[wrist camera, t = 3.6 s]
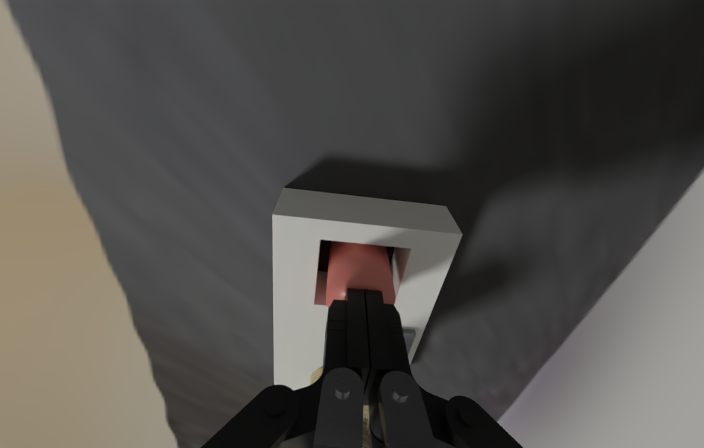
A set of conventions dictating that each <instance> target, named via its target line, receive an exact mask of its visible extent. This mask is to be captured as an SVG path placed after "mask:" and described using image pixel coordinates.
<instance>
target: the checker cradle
mask: <svg viewBox="0 0 704 448" xmlns="http://www.w3.org/2000/svg"><path fill="white" fill-rule="evenodd" d="M272 217H273V317H274V385H285V386H288V387H290V388H291V389H292V390H297V389H300V388H304V387H307V386H309V385H310V378H311V375H312V373H313V372H314V371H315V370H316V369H317V368H319V367H321V366H323V356H324V342H325V330H326V322H327V315H328V306H327V304H326V290H327V277H328V272H324V271H318V266H319V256H320V246H321V240H330V241H340V242H350V243H360V244H370V245H380V246H390V247H395V249H394V253H393V256H392V260H391V264H390V269H391V274H392V279H393V285H394V290H395V296H396V299H395V303H394V306H395V308H396V309H397V311H398V312H399V314H400V318H401V323H402V328H403V334H404V335H403V336H404V339H405V344H406V349H407V354H408V359H409V365H410V364H411V362H412V359H413V357H414V354H415V352H416V349H417V347H418V344H419V342H420V339H421V337H422V334H423V332H424V329H425V327H426V324H427V322H428V319H429V317H430V314H431V312H432V309H433V307H434V305H435V302H436V300H437V297H438V295H439V292H440V290H441V287H442V285H443V282H444V280H445V277H446V275H447V272H448V270H449V267H450V265H451V262H452V260H453V257H454V255H455V252H456V250H457V247H458V245H459V242H460V240H461V237H462V235H463V234H462V232H461V231H460V229H459V227H458V226H457V224H456V222H455V220H454V219H453V217H452V215H451V214H450V212H449V210H448V208H447V207H446V206H441V205H432V204H424V203H415V202H406V201H397V200H388V199H379V198H370V197H362V196H353V195H344V194H335V193H326V192H317V191H309V190H300V189H291V188H283V190H282V193H281V195H280V197H279V200H278V202H277V205H276V207H275V210H274V212H273V214H272Z"/></svg>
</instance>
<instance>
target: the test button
mask: <svg viewBox="0 0 704 448" xmlns="http://www.w3.org/2000/svg"><path fill="white" fill-rule="evenodd" d="M347 288H355V289H364V290H365V289H368V290H380V291H382V294H383V300H384V303H385V304H393V305H394V303H395V299H396V296H395V290H394V285H393V279H392V274H391V269H390V263H389V258H388V253H387V248H386V246H380V245H370V244H360V243H350V242H340V241H331V244H330V252H329V264H328V277H327V290H326V304H327V306H328V308H329V307H330V305H331V303H332V302H333V300H334V299H336V300H345V294H346V289H347Z"/></svg>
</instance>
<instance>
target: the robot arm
mask: <svg viewBox="0 0 704 448" xmlns="http://www.w3.org/2000/svg"><path fill="white" fill-rule="evenodd" d="M403 335H404V334H403V328H402V323H401V318H400V314H399V312H398V311H397V309H396V308H395V306H394V305H393V304H385V303H384V300H383V294H382V291H380V290H368V289H365V290H364V289H355V288H347V289H346V294H345V300H336V299H334V300H333V302H332V303H331V305H330V307H329V308H328V315H327V322H326V330H325V342H324V356H323V371H322V375H321V376H320V378H319V379H318V380H317V381H316V382H314V383H313V384H311V385H309V386H307V387H304V388H300V389H297V390H292V389H291V388H290V387H288V386H285V385H272V386H269V387H267V388H265V389H264V390H263V391H261V392H260V393H259V394H258V395H257V396H256V397H255V398H254V399H253V400H252V401H251V402H250V403H248V404H247V405H246V406H245V407H244V408H243V409H242V410H241V411H240V412H239V413H238V414H237V415H236V416H234V417H233V418H232V419H231V420H230V421H229V422H228V423H227V424H226V425H225V426H224V427H223V428H222V429H220V430H219V431H218V432H217V433H216V434H215V435H214V436H213V437H212V438H211V439H210V440H209V441H208V442H207V443H205V444H204V445H203V446H202V447H201V448H362V443H363V405H367V406H369V420H368V423H367V434H368V442H369V448H523V447H522V446H521V445H520V444H518V442H517V441H516V440H515V439H514V438H513V437H511V436H510V435H509V434H508V433H507V432H506V431H505V430H504V429H503V428H502V427H501V426H500V425H499V424H498V423H497V422H496V421H495V420H494V419H493V418H492V417H491V416H490V415H489V414H488V413H487V412H486V411H485V410H484V409H483V408H482V407H480V406H479V405H478V404H477V403H476V402H475V401H473V400H472V399H470V398H468V397H465V396H455V397H453V398H451V399H450V400H449V401H448V400H445V399H443V398H440V397H438V396H435V395H433V394H430V393H428V392H427V391H425V390H424V389H422V388H421V387H420V386H419V385H418V384H417V382H416V381H415V380H414V378H413V376H412V374H411V370H410V365H409V359H408V354H407V349H406V344H405V339H404V336H403Z"/></svg>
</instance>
